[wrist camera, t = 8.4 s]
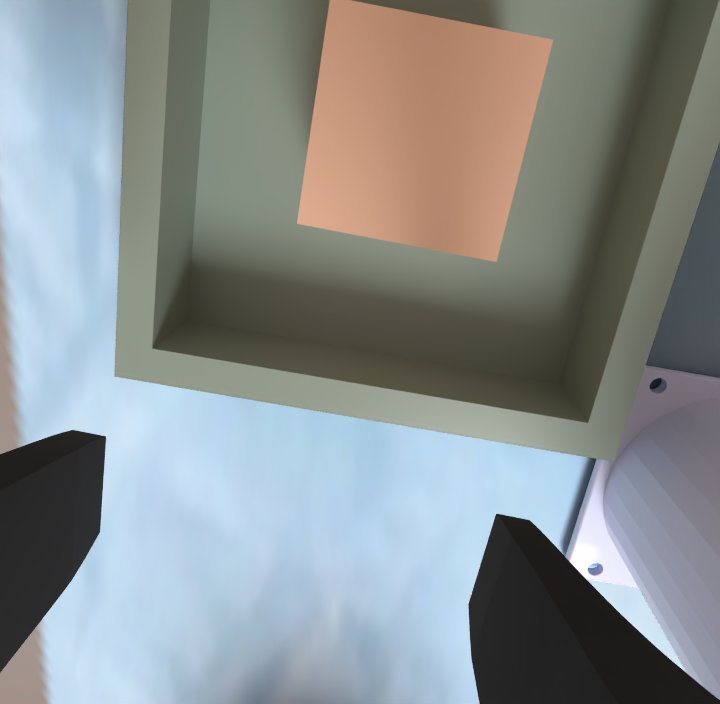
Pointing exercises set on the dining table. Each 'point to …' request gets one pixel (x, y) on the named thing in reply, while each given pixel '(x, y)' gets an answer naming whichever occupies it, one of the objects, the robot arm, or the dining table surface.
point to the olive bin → (405, 262)
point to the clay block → (419, 128)
